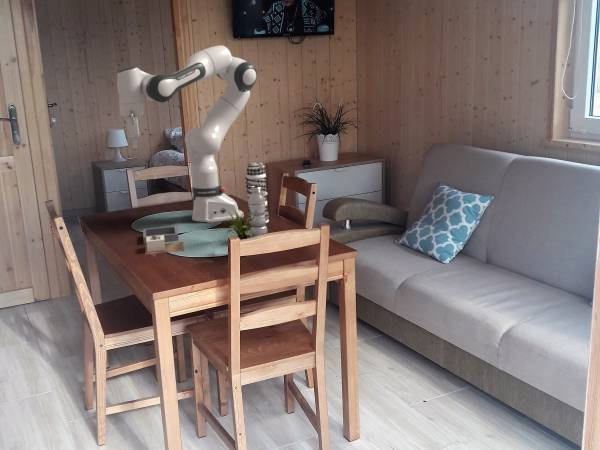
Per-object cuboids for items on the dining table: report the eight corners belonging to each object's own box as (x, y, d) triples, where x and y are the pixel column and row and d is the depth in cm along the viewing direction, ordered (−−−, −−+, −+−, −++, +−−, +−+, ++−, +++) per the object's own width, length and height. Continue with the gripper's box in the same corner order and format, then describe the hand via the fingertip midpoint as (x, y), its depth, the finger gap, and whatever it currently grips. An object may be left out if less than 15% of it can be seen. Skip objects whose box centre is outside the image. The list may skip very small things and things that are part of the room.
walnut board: (183, 244, 255) (181, 229, 253) (184, 253, 243) (183, 237, 242) (145, 248, 252) (143, 232, 250) (145, 257, 240) (143, 241, 239)
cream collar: (164, 245, 250) (163, 235, 249) (165, 250, 244) (164, 239, 243) (147, 247, 249) (146, 236, 248) (147, 252, 243) (146, 241, 242)
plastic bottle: (261, 241, 254) (258, 189, 249) (247, 239, 258) (243, 188, 253) (271, 236, 259) (268, 186, 254) (256, 234, 263) (253, 184, 258)
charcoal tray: (177, 234, 269) (176, 225, 268) (178, 242, 257) (178, 234, 256) (144, 237, 266) (143, 229, 265) (144, 246, 254) (143, 237, 253)
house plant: (211, 256, 237) (208, 212, 233) (235, 246, 249) (232, 203, 245) (244, 261, 230) (241, 215, 226) (267, 250, 241) (264, 206, 237)
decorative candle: (267, 224, 278) (263, 164, 271) (245, 224, 279) (241, 165, 273) (272, 218, 286) (268, 161, 280) (251, 218, 288) (247, 161, 282)
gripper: (140, 112, 247) (144, 149, 250) (139, 108, 266) (142, 143, 270) (123, 112, 245) (126, 150, 249) (123, 109, 265) (126, 144, 268)
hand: (135, 146), depth 259 cm, fingers open, 8 cm apart
